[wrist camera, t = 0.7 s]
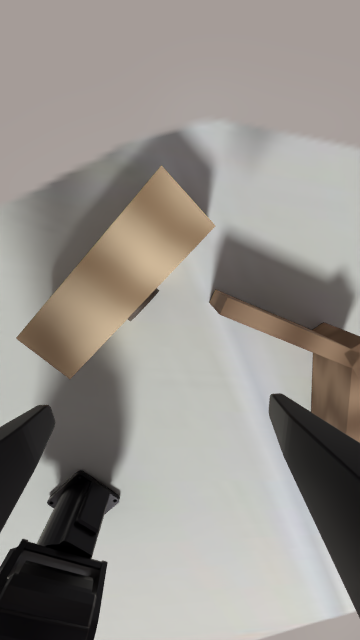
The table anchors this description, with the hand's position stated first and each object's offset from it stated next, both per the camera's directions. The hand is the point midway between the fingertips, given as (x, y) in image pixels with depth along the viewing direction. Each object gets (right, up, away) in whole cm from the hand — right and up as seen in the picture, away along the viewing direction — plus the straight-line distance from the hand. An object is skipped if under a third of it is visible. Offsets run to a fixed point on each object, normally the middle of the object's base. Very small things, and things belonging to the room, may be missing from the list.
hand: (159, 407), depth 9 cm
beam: (-4, +7, +11) cm, 14 cm away
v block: (+13, -1, +14) cm, 19 cm away
